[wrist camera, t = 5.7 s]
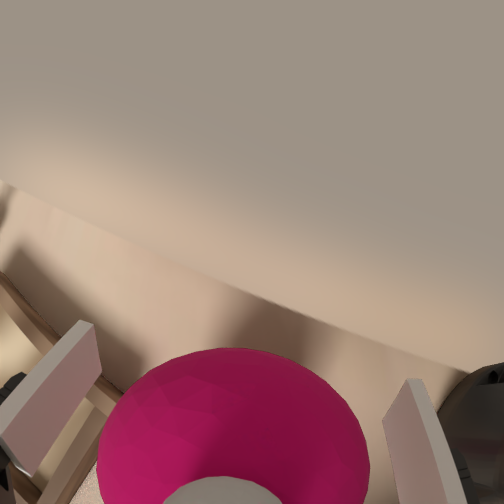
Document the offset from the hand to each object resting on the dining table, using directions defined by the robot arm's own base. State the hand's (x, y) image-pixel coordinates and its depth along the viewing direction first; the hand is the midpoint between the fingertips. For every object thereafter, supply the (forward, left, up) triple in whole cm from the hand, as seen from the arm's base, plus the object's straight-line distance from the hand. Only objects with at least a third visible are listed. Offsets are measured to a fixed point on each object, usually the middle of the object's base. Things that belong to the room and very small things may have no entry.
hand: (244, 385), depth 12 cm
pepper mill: (-1, +2, -10) cm, 11 cm away
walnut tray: (+15, +13, -10) cm, 22 cm away
